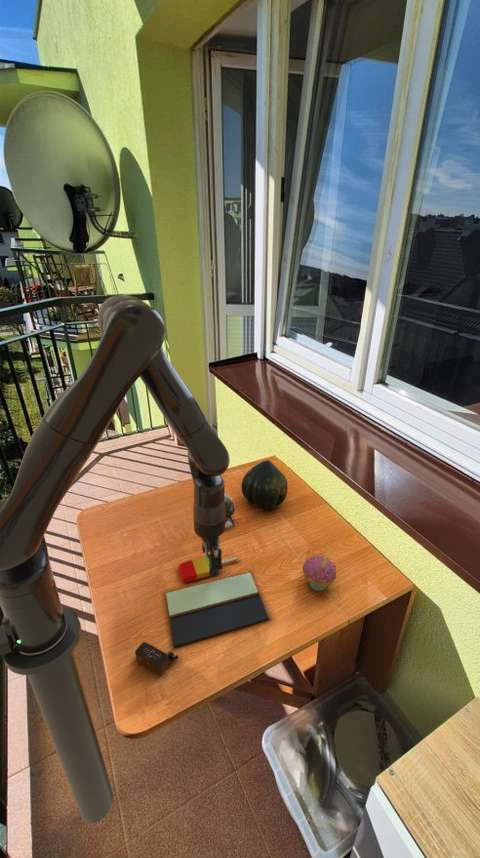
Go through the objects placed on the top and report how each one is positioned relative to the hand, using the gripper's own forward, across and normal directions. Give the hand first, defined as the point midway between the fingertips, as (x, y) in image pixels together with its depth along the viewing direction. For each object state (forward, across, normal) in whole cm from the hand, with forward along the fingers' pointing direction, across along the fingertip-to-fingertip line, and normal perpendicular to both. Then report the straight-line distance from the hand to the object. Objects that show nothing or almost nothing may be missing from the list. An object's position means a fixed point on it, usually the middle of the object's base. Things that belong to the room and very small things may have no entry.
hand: (210, 563), depth 98 cm
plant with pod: (+2, -16, +7) cm, 17 cm away
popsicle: (+2, 0, 0) cm, 2 cm away
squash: (+2, -23, +23) cm, 32 cm away
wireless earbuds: (+2, +21, -15) cm, 26 cm away
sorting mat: (+2, +12, -1) cm, 12 cm away
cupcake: (+2, +13, +25) cm, 28 cm away
